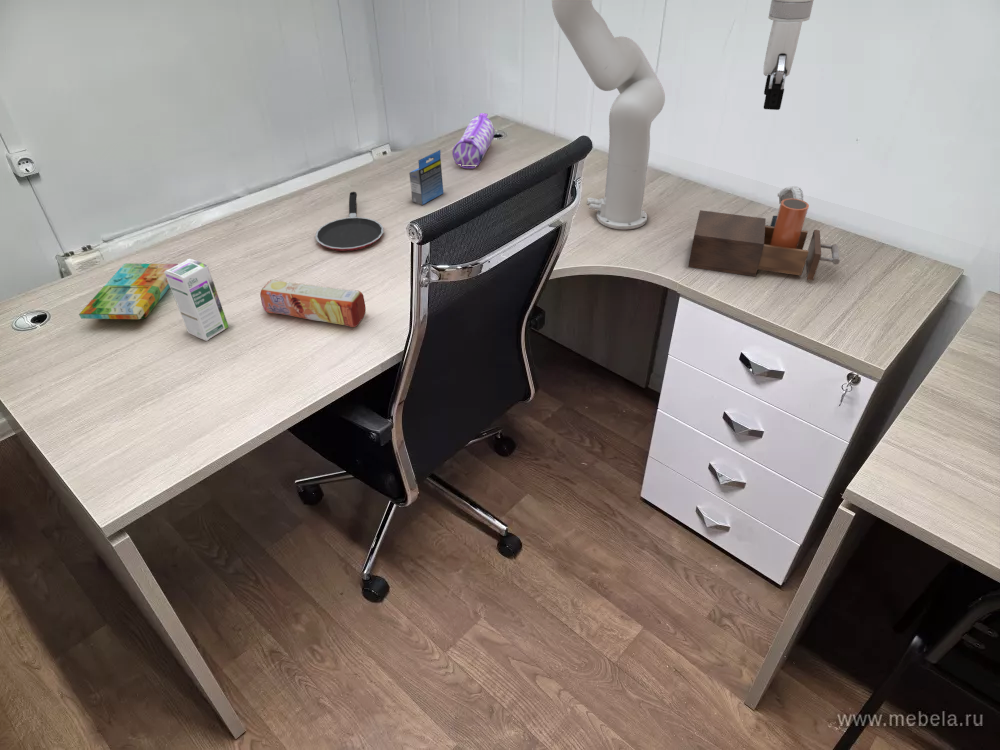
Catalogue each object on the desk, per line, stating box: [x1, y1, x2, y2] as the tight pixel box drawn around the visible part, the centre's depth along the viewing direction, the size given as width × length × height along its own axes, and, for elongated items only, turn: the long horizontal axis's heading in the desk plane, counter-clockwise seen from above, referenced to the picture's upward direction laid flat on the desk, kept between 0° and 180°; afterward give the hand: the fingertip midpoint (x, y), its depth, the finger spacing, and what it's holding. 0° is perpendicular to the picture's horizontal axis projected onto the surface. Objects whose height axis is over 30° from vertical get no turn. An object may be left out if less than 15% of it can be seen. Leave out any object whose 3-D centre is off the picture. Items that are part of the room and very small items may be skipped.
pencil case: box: [452, 112, 495, 170], centre depth 202 cm, size 22×9×10 cm, turn 171°
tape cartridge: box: [408, 149, 444, 206], centre depth 179 cm, size 9×4×12 cm, turn 144°
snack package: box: [259, 279, 367, 328], centre depth 137 cm, size 21×7×7 cm, turn 73°
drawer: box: [757, 225, 840, 281], centre depth 149 cm, size 18×11×6 cm, turn 72°
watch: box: [770, 185, 804, 227], centre depth 162 cm, size 6×8×11 cm
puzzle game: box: [78, 262, 179, 320], centre depth 142 cm, size 12×5×20 cm
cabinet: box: [687, 209, 767, 278], centre depth 153 cm, size 15×13×8 cm
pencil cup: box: [770, 199, 810, 249], centre depth 147 cm, size 6×6×13 cm
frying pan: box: [314, 191, 384, 252], centre depth 169 cm, size 28×16×3 cm, turn 8°
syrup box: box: [164, 258, 230, 342], centre depth 131 cm, size 6×6×14 cm
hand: (771, 101), depth 141 cm, fingers open, 9 cm apart
